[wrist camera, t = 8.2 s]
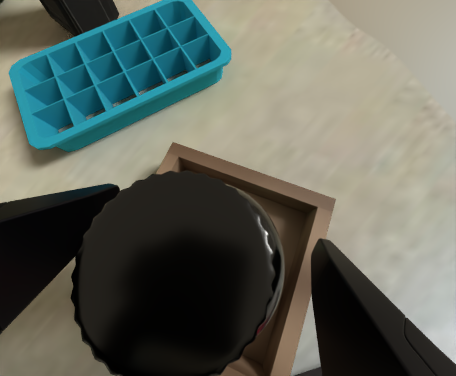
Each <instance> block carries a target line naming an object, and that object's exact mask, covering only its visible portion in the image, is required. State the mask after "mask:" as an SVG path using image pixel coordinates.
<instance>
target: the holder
mask: <svg viewBox="0 0 456 376" xmlns="http://www.w3.org/2000/svg"><path fill="white" fill-rule="evenodd" d="M186 170H188V171H190V172H192V173H194V174H198V173H205V174H207V175H208V176H209V177H210V178H217V179H221V180H222V181H223V182H224V183H225V184H228V185H231V186H233V187H236V188H238V189H240V190H241V191H243V192H245V193H246V194H248V195H249V196H251V197H252V198H253V199H254V200H256V201H257V202H258V203H259V204H260V205H261V206H262V208H263V209H264V210H265V211H266V212H267V214H268V215H269V217H270V218H271V220H272V221H273V223H274V225H275V227H276V229H277V232H278V234H279V237H280V240H281V243H282V247H283V252H284V260H285V276H284V284H283V289H282V293H281V297H280V300H279V303H278V305H277V308H276V310H275V312H274V314H273V316H272V318H271V319H270V321H269V323H268V324H267V325H266V327H265V328H264V329H263V331H262V332H261V333H260V334H259V335H258V336H257V337H256V339H255V341H254V342H252V343H251V344H249V345H247V346H246V347H245V349H244V351H243V354H242V356H241V358H240V359H239V360H237V361H235V362H233V363H230V364H228V365H227V367H226V368H225V370H224V371H223V373H222V374H221V375H219V376H290V374H291V370H292V366H293V362H294V358H295V354H296V351H297V347H298V343H299V339H300V335H301V331H302V328H303V324H304V320H305V316H306V312H307V308H308V304H309V301H310V297H311V253H312V251H313V249H314V247H315V245H316V242H317V240H318V239H319V238H323V239H326V235H327V231H328V227H329V223H330V220H331V216H332V212H333V208H334V204H335V200H336V199H334V198H331V197H328V196H325V195H322V194H319V193H317V192H314V191H311V190H308V189H305V188H302V187H300V186H297V185H294V184H291V183H288V182H285V181H282V180H280V179H277V178H274V177H271V176H268V175H265V174H262V173H260V172H257V171H254V170H251V169H248V168H245V167H243V166H240V165H237V164H234V163H231V162H228V161H225V160H223V159H220V158H217V157H214V156H211V155H208V154H205V153H203V152H200V151H197V150H194V149H191V148H188V147H185V146H183V145H180V144H177V143H174V142H173V143H172V145H171V146H170V148H169V150H168V152H167V154H166V156H165V158H164V159H163V161H162V163H161V165H160V167H159V169H158V171H157V172H156V174H163V173H165V172H168V171H175V172H178V173H179V172H182V171H186Z"/></svg>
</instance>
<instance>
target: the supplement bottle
mask: <svg viewBox="0 0 456 376" xmlns="http://www.w3.org/2000/svg"><path fill="white" fill-rule="evenodd" d="M75 261H76V266H75V268H74V270H73V273H72V276H71V278H72V282H73V290H72V294H71V300H72V302H73V304H74V306H75V314H74V320H75V322H76V323H77V324H78V326H79V327H80V328H81V336H82V341H83V342H84V343H86V344H87V345H89V346H90V347H91V350H92V354H93V356H94V359H95V360H97V361H99V362H102V363H104V364H105V365H106V367H107V369H108V371H109V372H110V374H112V375H116V376H219V375H221V374H222V373H223V371H224V370H225V368H226V367H227V365H228V364H230V363H233V362H235V361H237V360H239V359H240V358H241V356H242V354H243V351H244V349H245V347H246V346H247V345H249V344H251V343H252V342H254V341H255V339H256V337H257V336H258V335H259V334H260V333H261V332H262V331H263V329H264V328H265V327H266V325H267V324H268V323H269V321H270V319H271V318H272V316H273V314H274V312H275V310H276V308H277V305H278V303H279V300H280V297H281V293H282V289H283V284H284V276H285V260H284V252H283V247H282V243H281V240H280V237H279V234H278V232H277V229H276V227H275V225H274V223H273V221H272V220H271V218H270V217H269V215H268V214H267V212H266V211H265V210H264V209H263V208H262V206H261V205H260V204H259V203H258V202H257V201H256V200H254V199H253V198H252V197H251V196H249V195H248V194H246V193H245V192H243V191H241V190H240V189H238V188H236V187H233V186H231V185H228V184H225V183H224V182H223V181H222V180H221V179H217V178H210V177H209V176H208V175H207V174H205V173H198V174H194V173H192V172H190V171H188V170H186V171H182V172H179V173H178V172H175V171H168V172H165V173H163V174H152V175H151V176H149V177H148V178H147V179H145V180H138V181H136V182H134V183H133V184H132V186H130V187H129V188H126V189H123V190H121V191H120V192H119V193H118V194H117V196H116V197H115V198H114V199H112V200H110V201H109V202H107V203H106V204H105V206H104V207H103V209H102V211H101V213H99V214H98V215H97V216H95V217H94V218H93V220H92V224H91V227H90V228H89V229H88V231H87V232H86V233H85V234H84V235H83V238H82V245H81V247H80V249H79V250H78V252H77V253H76V255H75Z"/></svg>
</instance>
